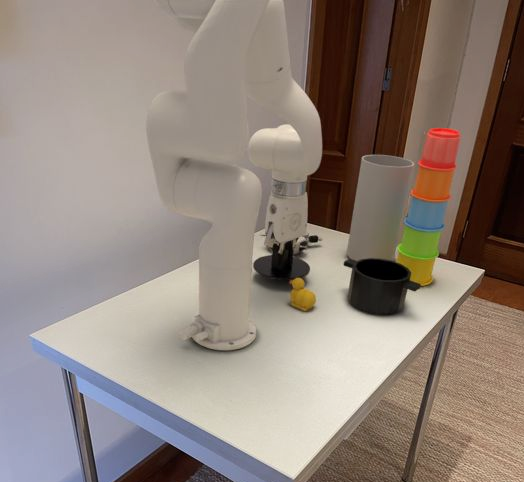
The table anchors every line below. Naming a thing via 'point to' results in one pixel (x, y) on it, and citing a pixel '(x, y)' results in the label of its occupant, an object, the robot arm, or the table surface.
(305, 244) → the robot toy
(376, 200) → the cylinder vase
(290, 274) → the pan lid
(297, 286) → the duck
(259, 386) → the table surface
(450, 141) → the stacking cups
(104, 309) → the table surface
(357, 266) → the pan
